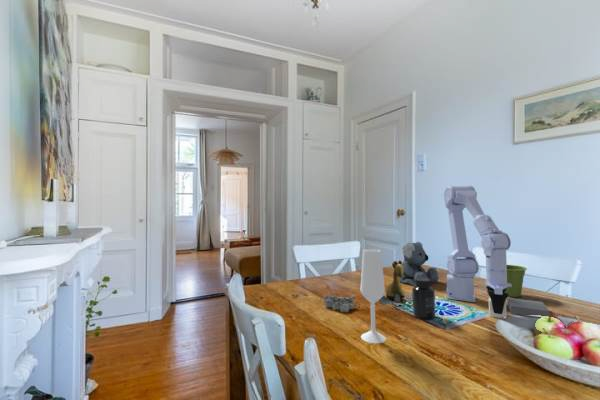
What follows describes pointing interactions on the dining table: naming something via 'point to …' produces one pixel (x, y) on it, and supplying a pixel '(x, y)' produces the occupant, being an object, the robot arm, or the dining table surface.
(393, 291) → the stuffed giraffe
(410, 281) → the koala plush
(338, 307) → the egg carton
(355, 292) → the dining table surface
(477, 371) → the dining table surface
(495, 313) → the cream block
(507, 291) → the plant pot
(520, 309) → the slate slab
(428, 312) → the supplement bottle
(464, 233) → the robot arm
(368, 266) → the champagne flute
